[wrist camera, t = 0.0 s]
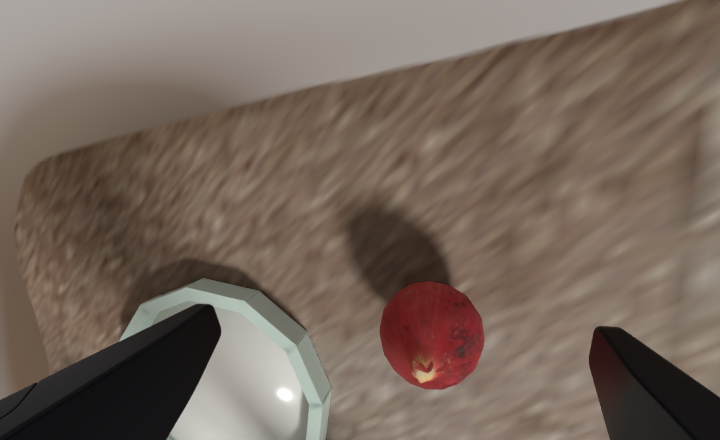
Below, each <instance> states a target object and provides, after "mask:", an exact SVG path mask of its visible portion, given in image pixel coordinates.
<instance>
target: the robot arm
mask: <svg viewBox="0 0 720 440" xmlns="http://www.w3.org/2000/svg"><path fill="white" fill-rule="evenodd" d="M220 337H221V326H220V323H219V320H218V317H217V314H216V311H215V309H214V307H213V306H212V305H210V304H195V305H193V306H190V307H188V308H186V309H184V310H182V311H180V312H178V313H176V314H174V315H172V316H170V317H168V318H166V319H164V320H162V321H160V322H158V323H156V324H154V325H152V326H150V327H148V328H146V329H144V330H142V331H140V332H138V333H136V334H134V335H132V336H130V337H128V338H126V339H123V340H121V341H119V342H117V343H115V344H113V345H111V346H109V347H107V348H105V349H103V350H101V351H99V352H97V353H95V354H93V355H91V356H89V357H87V358H85V359H83V360H81V361H79V362H77V363H75V364H73V365H71V366H69V367H67V368H65V369H63V370H61V371H58V372H56V373H54V374H52V375H50V376H48V377H46V378H44V379H42V380H40V381H39V382H38V383H34V384H32V385H30V386H28V387H26V388H24V389H22V390H20V391H18V392H16V393H14V394H12V395H9V396H8V397H5V398H3V399H1V400H0V440H166V439H167V438H168V436H169V434H170V433H171V431H172V429H173V428H174V426H175V424H176V422H177V421H178V419H179V417H180V416H181V414H182V412H183V411H184V409H185V407H186V405H187V404H188V402H189V400H190V399H191V397H192V395H193V393H194V391H195V389H196V387H197V385H198V383H199V381H200V379H201V377H202V375H203V373H204V371H205V369H206V367H207V365H208V362H209V360H210V358H211V356H212V354H213V352H214V350H215V348H216V346H217V343H218V341H219V339H220ZM589 365H590V370H591V374H592V377H593V381H594V384H595V388H596V392H597V395H598V399H599V402H600V406H601V409H602V413H603V417H604V420H605V424H606V427H607V431H608V434H609V438H610V440H720V397H719V396H717V395H716V394H714V393H713V392H712V391H710V390H709V389H707V388H706V387H704V386H703V385H702V384H700V383H699V382H697V381H696V380H694V379H693V378H692V377H690V376H689V375H687V374H686V373H685V372H683V371H682V370H680V369H679V368H677V367H676V366H675V365H673V364H672V363H670V362H669V361H667V360H666V359H665V358H663V357H662V356H660V355H659V354H657V353H656V352H655V351H653V350H652V349H650V348H649V347H647V346H646V345H645V344H643V343H642V342H640V341H639V340H637V339H636V338H635V337H633V336H632V335H630V334H629V333H627V332H626V331H625V330H623V329H621V328H619V327H609V326H598V327H596V328H595V330H594V333H593V338H592V343H591V349H590V354H589Z"/></svg>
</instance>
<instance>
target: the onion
mask: <svg viewBox="0 0 720 440" xmlns="http://www.w3.org/2000/svg"><path fill="white" fill-rule="evenodd" d="M380 337H381V342H382V347H383V351H384V354H385V356H386V358H387V360H388V361H389V363H390V364H391V366H392V367H393V369H394V370H395V371H396V372H397V373H398V374H399V375H400V376H402V377H403V378H404V379H405V380H406V381H408V382H409V383H411V384H413V385H416V386H419V387H421V388H424V389H445V388H448V387H451V386H454V385H457V384H459V383H460V382H461V381H463V380H464V379H465V378H466V377H467V376H468V375H469V374H470V373H472V372H473V371H474V369H475V368H476V366H477V363H478V361H479V358H480V355H481V353H482V350H483V347H484V333H483V325H482V319H481V317H480V315H479V313H478V312H477V310H476V309H475V307H474V306H473V304H472V303H471V301H470V300H469V299H468V297H467V296H466V295H464V294H463V293H461V292H459V291H458V290H456V289H454V288H453V287H451V286H450V285H446V284H442V283H437V282H433V281H427V282H418V283H412V284H411V285H409V286H407V287H405V288H403V289H401V290H400V291H398V292H397V293H396V294H395V295H394V296H393V298H392V299H391V300H390V302H389V303H388V304H387V306H386V307H385V308H384V310H383V315H382V320H381V325H380Z"/></svg>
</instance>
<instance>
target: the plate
mask: <svg viewBox="0 0 720 440" xmlns="http://www.w3.org/2000/svg"><path fill="white" fill-rule="evenodd" d="M195 304H210V305H212V306H213V307H214V309H215V311H216V314H217V317H218V320H219V323H220V326H221V337H220V339H219V341H218V343H217V346H216V348H215V350H214V352H213V354H212V356H211V358H210V360H209V362H208V365H207V367H206V369H205V371H204V373H203V375H202V377H201V379H200V381H199V383H198V385H197V387H196V389H195V391H194V393H193V395H192V397H191V399H190V400H189V402H188V404H187V405H186V407H185V409H184V411H183V412H182V414H181V416H180V417H179V419H178V421H177V422H176V424H175V426H174V428H173V429H172V431H171V433H170V434H169V436H168V438H167V439H166V440H326V434H327V425H328V417H329V408H330V399H331V390H332V387H331V385H330V383H329V381H328V379H327V376H326V374H325V372H324V369H323V367H322V365H321V363H320V360H319V358H318V356H317V353H316V351H315V349H314V347H313V344H312V342H311V340H310V337H309V335H308V332H307V331H306V330H304V329H303V328H302V327H301V326H300V325H299V324H297V323H296V322H295V321H294V320H293V319H292V318H290V317H289V316H288V315H287V314H286V313H284V312H283V311H282V310H281V309H280V308H279V307H277V306H276V305H275V304H274V303H273V302H272V301H270V300H269V299H268V298H267V297H266V296H265V295H263V294H262V293H261V292H260V291H259V290H254V289H249V288H245V287H240V286H236V285H232V284H227V283H223V282H218V281H214V280H210V279H205V278H202V279H200V280H198V281H196V282H193V283H191V284H188V285H185V286H183V287H180V288H178V289H175V290H173V291H170V292H167V293H165V294H162V295H159V296H157V297H155V298H153V299H151V300H148V301H146V302H144V303H142V304H140V305H139V308H138V310H137V311H136V313H135V315H134V316H133V318H132V320H131V322H130V323H129V325H128V327H127V328H126V330H125V332H124V334H123V335H122V337H121V339H120V340H119V341H121V340H123V339H126V338H128V337H130V336H132V335H134V334H136V333H138V332H140V331H142V330H144V329H146V328H148V327H150V326H152V325H154V324H156V323H158V322H160V321H162V320H164V319H166V318H168V317H170V316H172V315H174V314H176V313H178V312H180V311H182V310H184V309H186V308H188V307H190V306H193V305H195Z"/></svg>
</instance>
